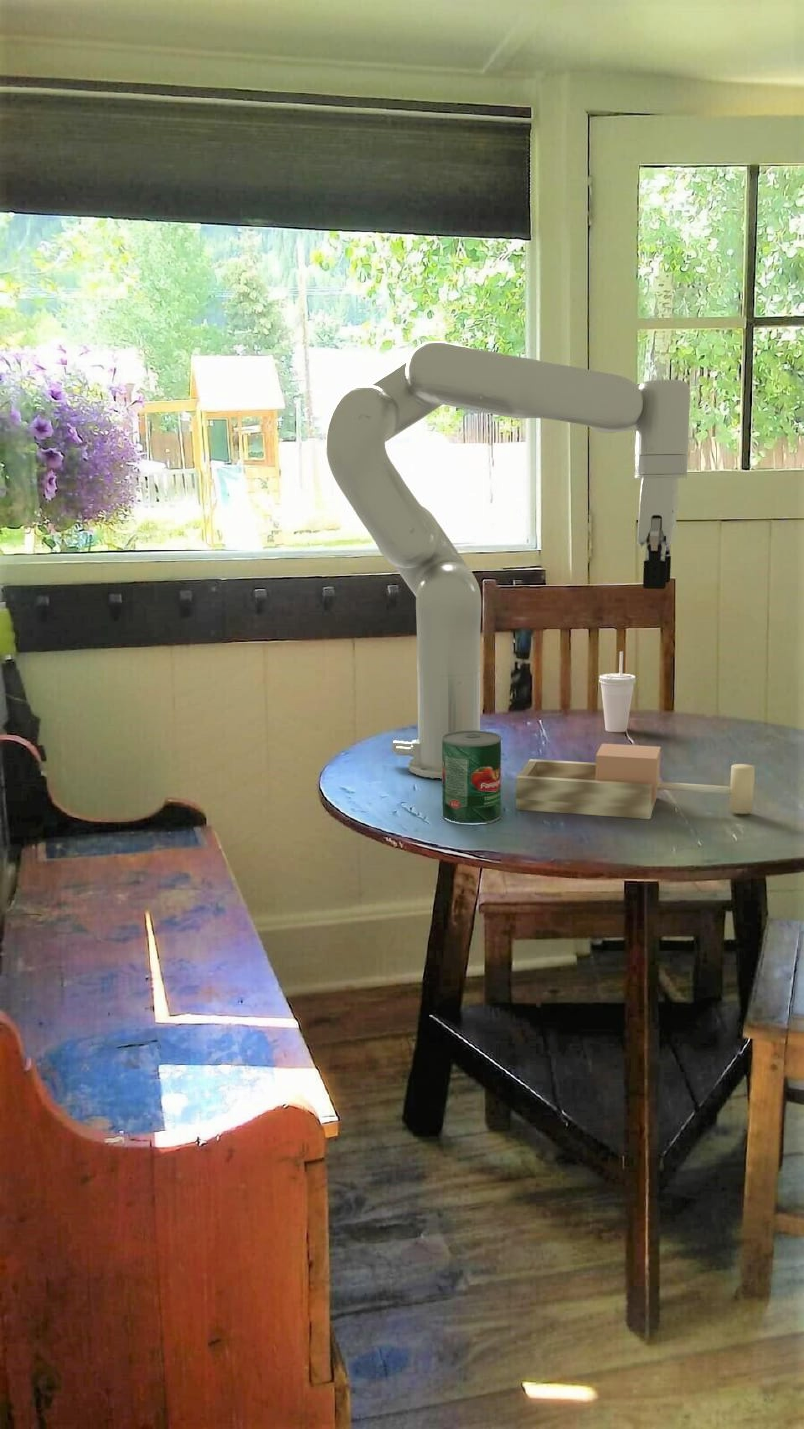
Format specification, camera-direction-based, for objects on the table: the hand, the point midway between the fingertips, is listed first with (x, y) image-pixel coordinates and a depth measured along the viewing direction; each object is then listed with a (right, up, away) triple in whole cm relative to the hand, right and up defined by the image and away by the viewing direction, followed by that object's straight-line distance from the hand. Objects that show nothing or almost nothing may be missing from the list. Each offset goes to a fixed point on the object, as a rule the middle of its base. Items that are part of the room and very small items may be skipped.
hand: (656, 585), depth 171 cm
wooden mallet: (-1, -32, -15) cm, 35 cm away
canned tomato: (-29, -33, -17) cm, 47 cm away
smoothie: (0, -22, +33) cm, 39 cm away
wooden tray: (-13, -32, -12) cm, 36 cm away
